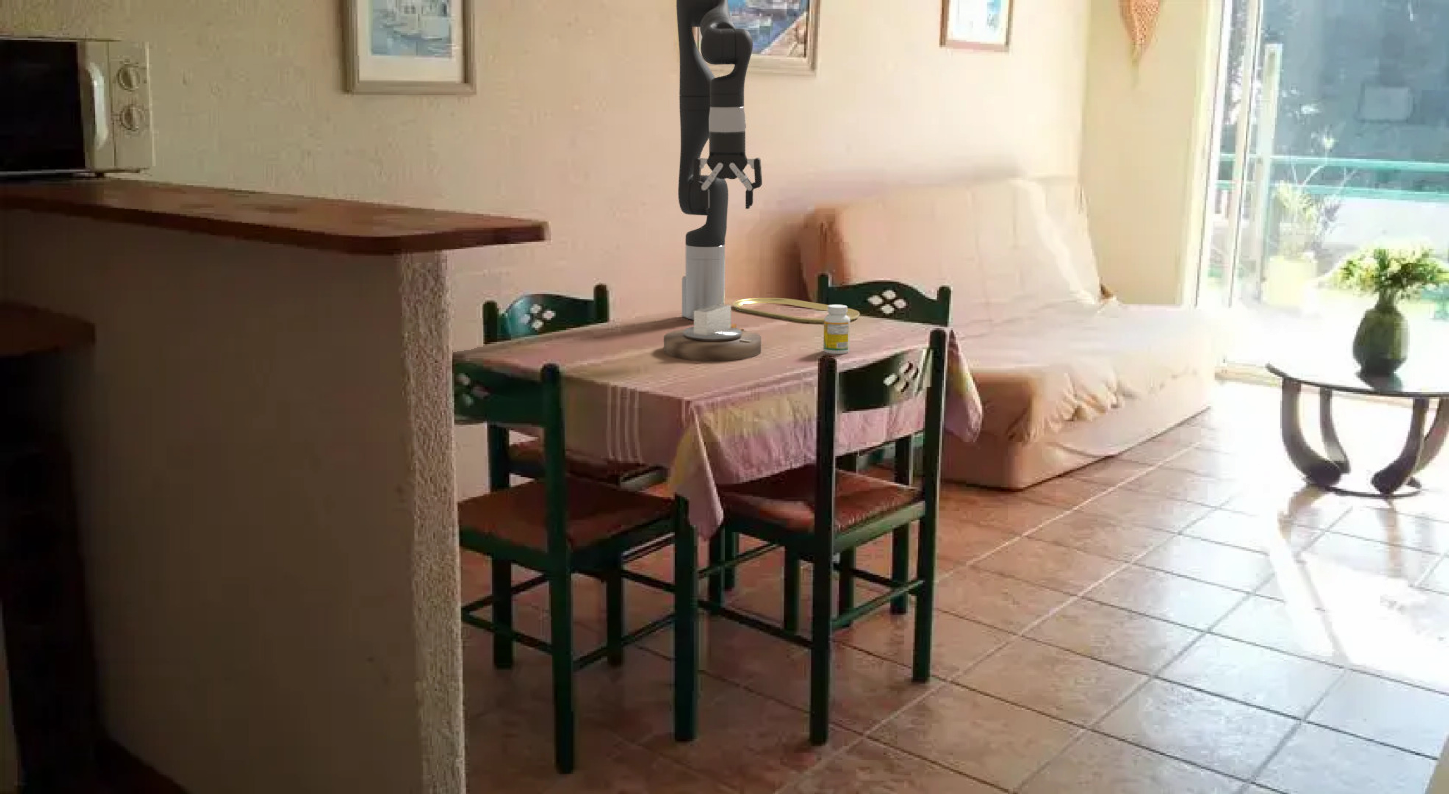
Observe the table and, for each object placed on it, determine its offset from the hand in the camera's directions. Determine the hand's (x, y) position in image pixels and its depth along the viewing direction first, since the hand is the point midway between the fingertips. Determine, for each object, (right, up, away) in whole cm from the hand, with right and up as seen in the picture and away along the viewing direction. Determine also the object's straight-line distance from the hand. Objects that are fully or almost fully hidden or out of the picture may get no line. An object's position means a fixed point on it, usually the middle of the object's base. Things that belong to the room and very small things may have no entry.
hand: (727, 208), depth 270 cm
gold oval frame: (+16, -20, +43) cm, 50 cm away
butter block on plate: (-2, -27, -3) cm, 27 cm away
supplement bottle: (+22, -30, -3) cm, 38 cm away
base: (-3, -30, -4) cm, 30 cm away
